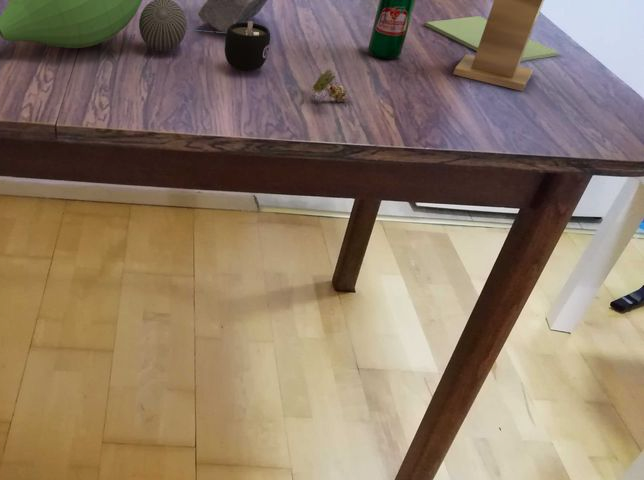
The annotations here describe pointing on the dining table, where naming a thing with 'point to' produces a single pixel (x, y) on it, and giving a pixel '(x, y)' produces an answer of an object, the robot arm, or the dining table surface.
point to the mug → (247, 46)
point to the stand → (503, 45)
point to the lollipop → (163, 25)
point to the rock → (229, 12)
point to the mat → (471, 33)
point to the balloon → (66, 21)
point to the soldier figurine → (324, 83)
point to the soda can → (390, 28)
